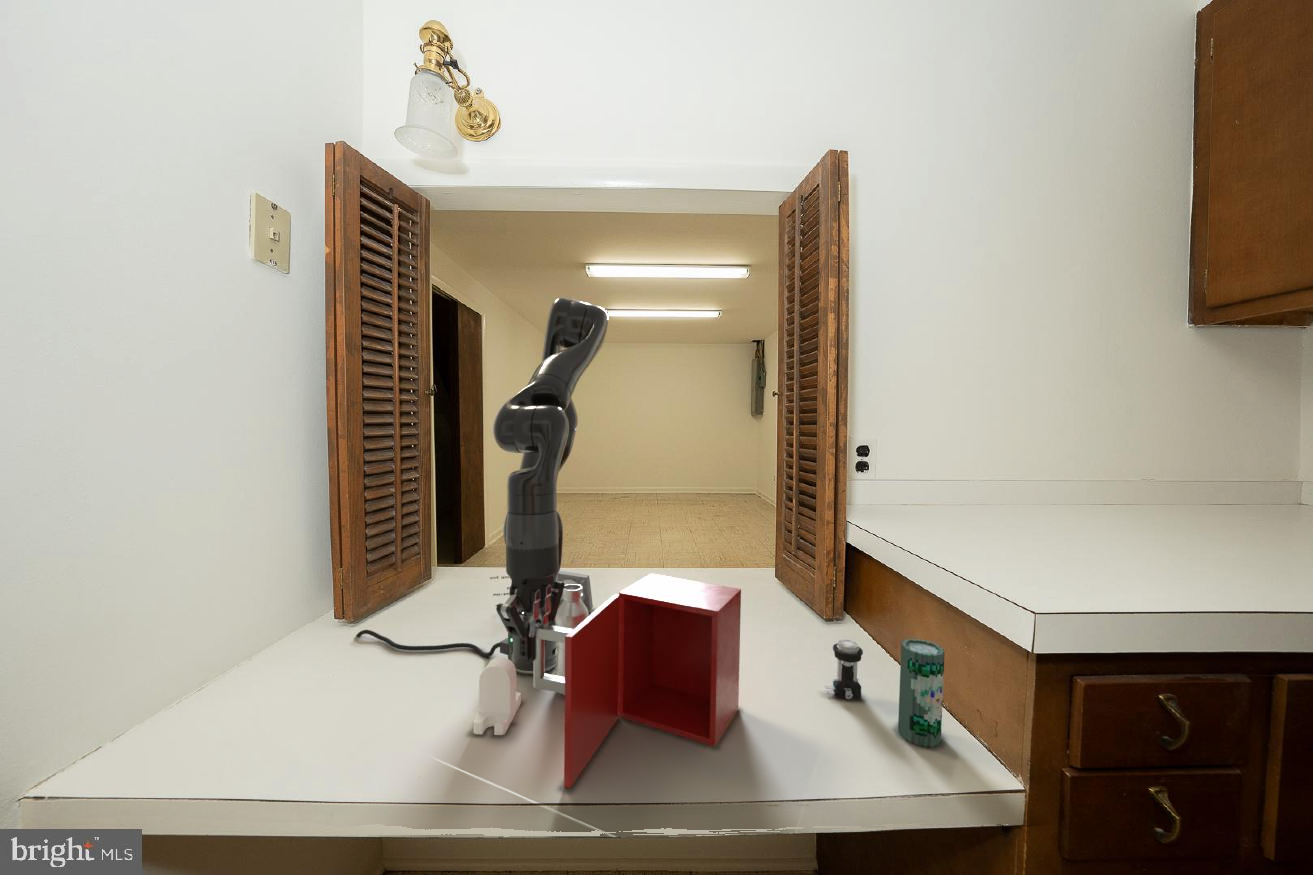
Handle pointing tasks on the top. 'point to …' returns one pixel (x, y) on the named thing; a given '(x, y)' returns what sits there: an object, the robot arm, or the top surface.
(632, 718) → the red upright rectangular box
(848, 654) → the push button
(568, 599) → the plastic bottle
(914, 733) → the can
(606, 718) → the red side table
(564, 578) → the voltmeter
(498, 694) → the cable organizer
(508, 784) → the top surface
